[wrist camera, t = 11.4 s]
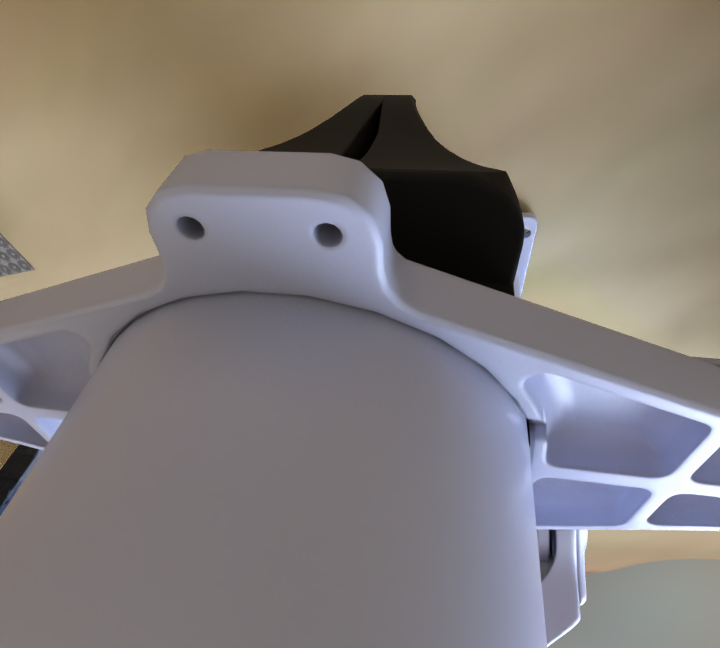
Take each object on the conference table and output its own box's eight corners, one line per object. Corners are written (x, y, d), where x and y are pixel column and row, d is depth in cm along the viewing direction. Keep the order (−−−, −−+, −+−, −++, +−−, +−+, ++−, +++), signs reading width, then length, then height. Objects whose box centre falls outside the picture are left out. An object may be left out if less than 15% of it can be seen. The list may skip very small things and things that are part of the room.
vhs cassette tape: (29, 426, 52) (-38, 517, 45) (56, 433, 52) (-7, 525, 45) (73, 495, 65) (26, 573, 58) (94, 500, 65) (50, 578, 59)
